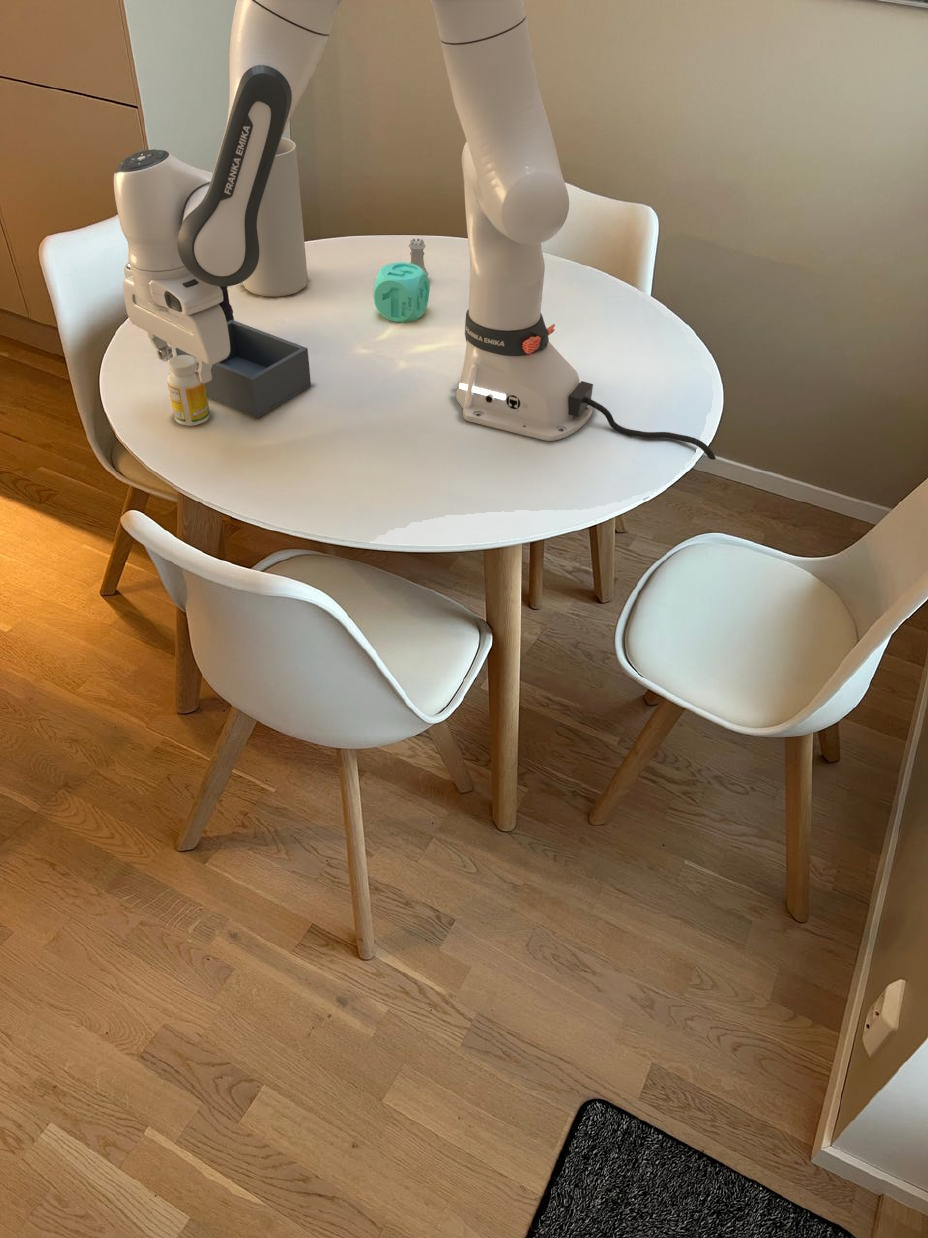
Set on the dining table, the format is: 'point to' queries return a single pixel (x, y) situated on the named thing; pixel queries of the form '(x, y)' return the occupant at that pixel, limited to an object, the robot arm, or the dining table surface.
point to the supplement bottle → (187, 391)
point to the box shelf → (257, 371)
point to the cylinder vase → (280, 230)
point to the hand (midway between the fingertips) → (184, 369)
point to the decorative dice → (401, 292)
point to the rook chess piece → (417, 253)
